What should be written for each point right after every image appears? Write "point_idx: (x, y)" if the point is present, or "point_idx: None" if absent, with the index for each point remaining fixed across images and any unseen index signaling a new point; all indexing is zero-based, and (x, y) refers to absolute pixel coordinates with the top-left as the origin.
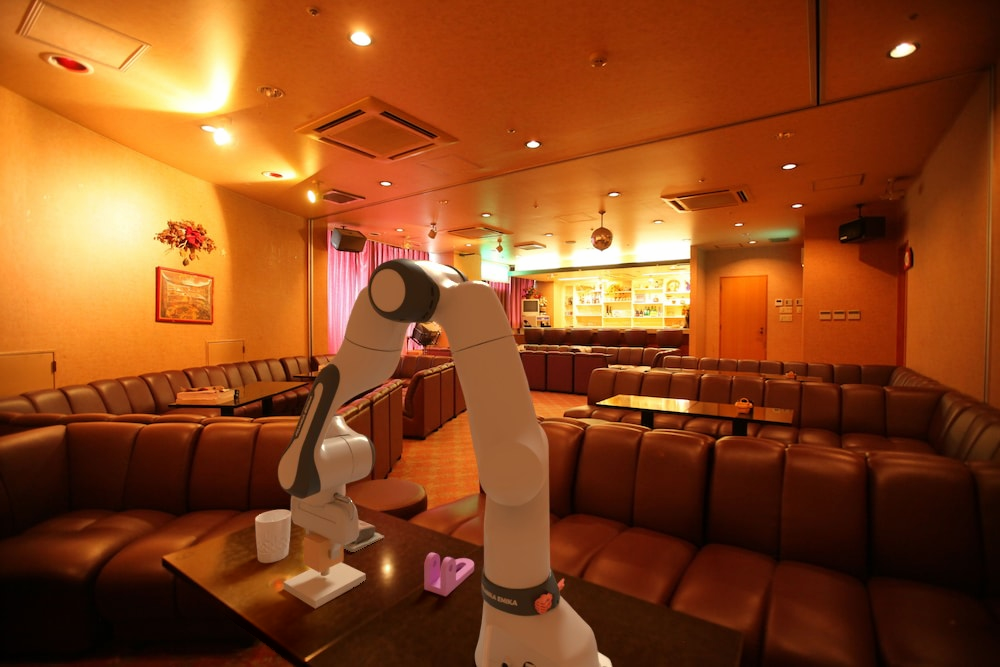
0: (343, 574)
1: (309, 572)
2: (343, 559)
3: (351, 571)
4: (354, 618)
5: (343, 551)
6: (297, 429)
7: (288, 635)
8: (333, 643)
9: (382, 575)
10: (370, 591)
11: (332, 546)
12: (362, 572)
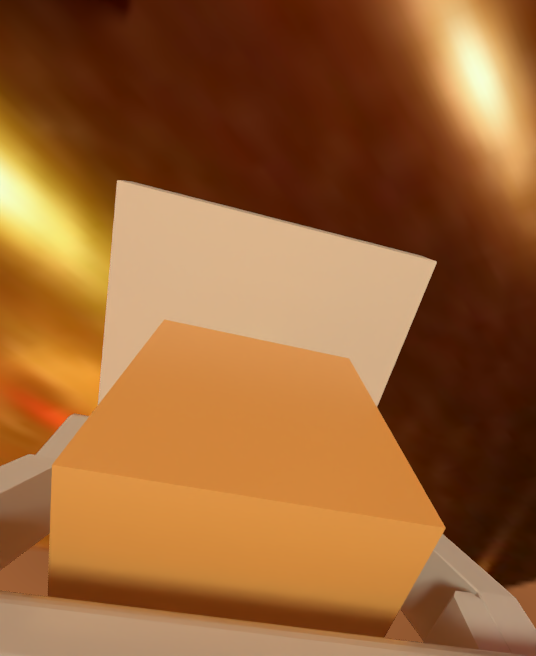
0: (318, 311)
1: (130, 357)
2: (351, 364)
3: (340, 268)
4: (505, 465)
5: (369, 395)
6: None
7: None
8: (497, 553)
9: (485, 173)
10: (487, 319)
11: (426, 633)
12: (410, 255)
